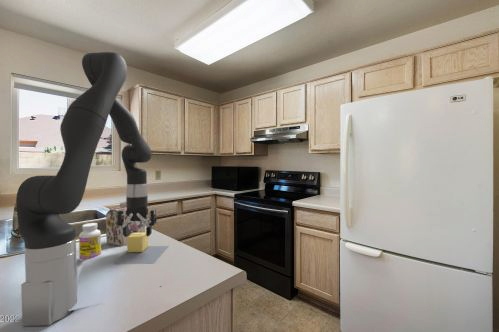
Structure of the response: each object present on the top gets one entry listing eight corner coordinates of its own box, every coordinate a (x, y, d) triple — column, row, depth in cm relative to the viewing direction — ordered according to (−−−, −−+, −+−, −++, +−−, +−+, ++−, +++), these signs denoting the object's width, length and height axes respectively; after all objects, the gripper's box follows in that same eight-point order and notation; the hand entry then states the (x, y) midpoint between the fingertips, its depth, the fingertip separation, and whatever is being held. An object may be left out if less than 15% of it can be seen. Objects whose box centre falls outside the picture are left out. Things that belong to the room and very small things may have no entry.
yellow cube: (142, 251, 87) (141, 236, 87) (127, 252, 87) (127, 236, 87) (148, 246, 92) (148, 231, 92) (134, 246, 92) (134, 231, 92)
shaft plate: (153, 266, 78) (153, 251, 78) (113, 267, 78) (112, 252, 77) (169, 248, 94) (169, 236, 94) (135, 249, 94) (135, 236, 93)
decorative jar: (129, 235, 111) (128, 199, 111) (146, 238, 106) (145, 200, 106) (105, 243, 100) (104, 203, 100) (122, 247, 95) (121, 205, 95)
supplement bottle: (76, 263, 81) (75, 227, 81) (84, 255, 88) (83, 222, 87) (97, 260, 83) (96, 226, 83) (103, 253, 89) (103, 221, 89)
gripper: (158, 193, 93) (159, 233, 93) (123, 194, 93) (124, 233, 93) (151, 196, 85) (151, 239, 86) (113, 196, 85) (113, 239, 85)
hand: (137, 236), depth 89 cm, fingers open, 8 cm apart
